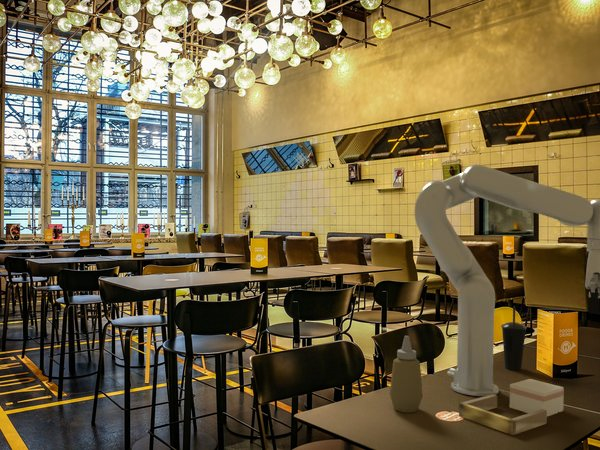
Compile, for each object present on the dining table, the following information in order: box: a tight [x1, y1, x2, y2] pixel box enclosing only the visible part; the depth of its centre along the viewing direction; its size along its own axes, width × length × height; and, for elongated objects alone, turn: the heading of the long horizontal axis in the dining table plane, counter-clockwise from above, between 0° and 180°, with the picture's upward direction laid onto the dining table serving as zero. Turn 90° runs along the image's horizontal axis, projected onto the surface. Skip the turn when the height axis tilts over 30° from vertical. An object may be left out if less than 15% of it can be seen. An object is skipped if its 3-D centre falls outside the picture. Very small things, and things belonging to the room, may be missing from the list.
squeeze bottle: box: [389, 335, 423, 413], centre depth 136 cm, size 8×8×18 cm
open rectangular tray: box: [458, 394, 548, 436], centre depth 130 cm, size 14×13×3 cm
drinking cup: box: [500, 305, 528, 371], centre depth 177 cm, size 8×8×20 cm
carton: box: [509, 378, 565, 417], centre depth 138 cm, size 9×9×6 cm
